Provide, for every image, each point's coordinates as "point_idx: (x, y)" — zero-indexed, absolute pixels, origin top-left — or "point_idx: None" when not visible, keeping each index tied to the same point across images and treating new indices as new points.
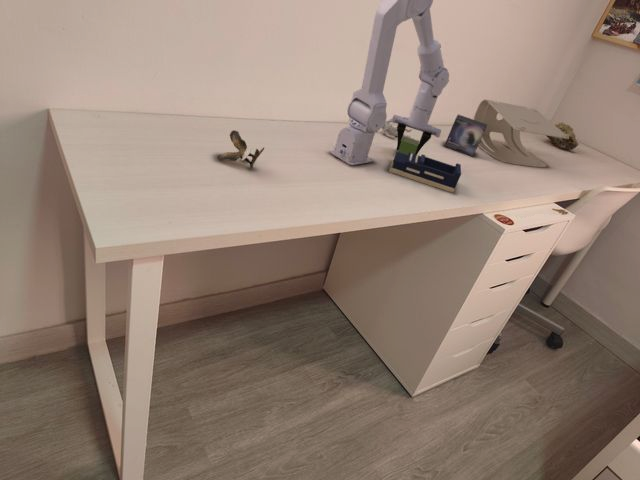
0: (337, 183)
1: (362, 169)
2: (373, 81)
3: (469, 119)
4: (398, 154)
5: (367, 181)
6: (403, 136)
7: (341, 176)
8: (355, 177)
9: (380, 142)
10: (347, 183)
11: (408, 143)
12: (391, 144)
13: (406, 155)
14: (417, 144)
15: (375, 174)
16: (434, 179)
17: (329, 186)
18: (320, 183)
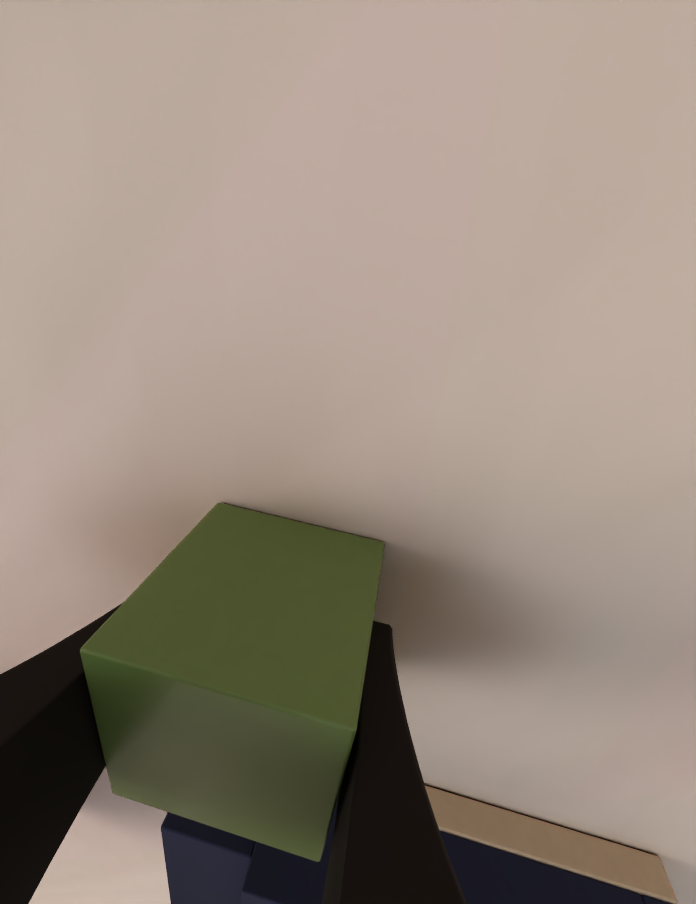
0: (81, 889)
1: (103, 816)
2: None
3: None
4: (182, 860)
5: (151, 878)
6: (85, 666)
7: (69, 861)
8: (107, 862)
9: (12, 351)
10: (103, 888)
11: (202, 811)
12: (120, 312)
13: (240, 865)
14: (313, 837)
15: (161, 839)
16: None
17: (73, 900)
18: (48, 891)
